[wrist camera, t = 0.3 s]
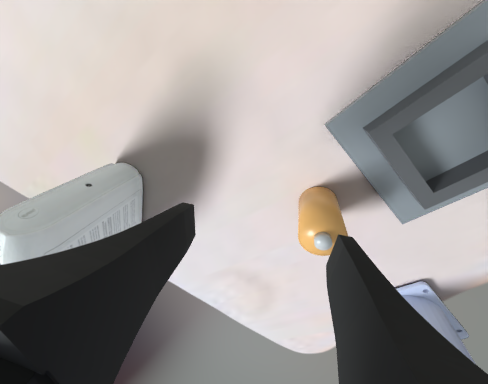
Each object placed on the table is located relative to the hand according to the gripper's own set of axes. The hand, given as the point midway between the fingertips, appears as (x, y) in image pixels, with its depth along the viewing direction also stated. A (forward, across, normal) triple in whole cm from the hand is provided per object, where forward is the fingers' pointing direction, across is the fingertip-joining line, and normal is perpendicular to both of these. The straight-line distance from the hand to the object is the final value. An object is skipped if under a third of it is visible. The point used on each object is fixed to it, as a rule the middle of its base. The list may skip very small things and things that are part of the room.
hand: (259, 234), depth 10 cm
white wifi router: (+10, +17, +7) cm, 21 cm away
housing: (+10, -11, -4) cm, 15 cm away
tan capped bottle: (+10, -4, +3) cm, 11 cm away
